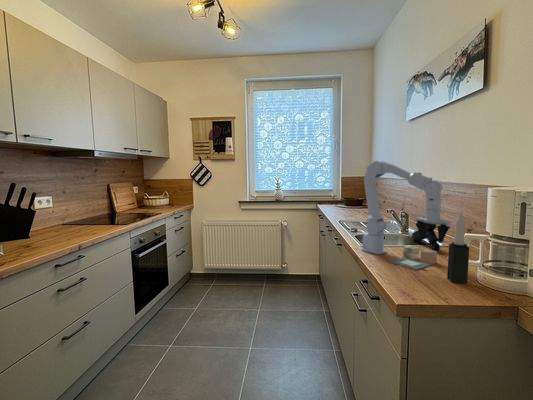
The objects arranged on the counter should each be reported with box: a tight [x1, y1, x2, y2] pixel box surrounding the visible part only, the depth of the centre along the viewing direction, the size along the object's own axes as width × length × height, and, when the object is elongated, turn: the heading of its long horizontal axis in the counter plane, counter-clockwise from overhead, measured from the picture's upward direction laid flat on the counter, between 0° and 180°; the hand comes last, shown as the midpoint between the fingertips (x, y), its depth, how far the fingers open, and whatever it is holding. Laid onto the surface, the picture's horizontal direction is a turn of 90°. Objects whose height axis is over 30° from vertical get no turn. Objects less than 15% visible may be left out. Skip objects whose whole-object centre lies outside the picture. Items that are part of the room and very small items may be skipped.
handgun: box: [411, 223, 441, 253], centre depth 147 cm, size 5×23×15 cm, turn 174°
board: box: [388, 257, 432, 271], centre depth 120 cm, size 12×11×1 cm
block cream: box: [402, 244, 420, 260], centre depth 128 cm, size 4×4×5 cm
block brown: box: [419, 248, 438, 266], centre depth 122 cm, size 4×4×5 cm
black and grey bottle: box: [446, 211, 470, 285], centre depth 99 cm, size 5×5×25 cm
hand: (431, 240), depth 121 cm, fingers open, 7 cm apart
